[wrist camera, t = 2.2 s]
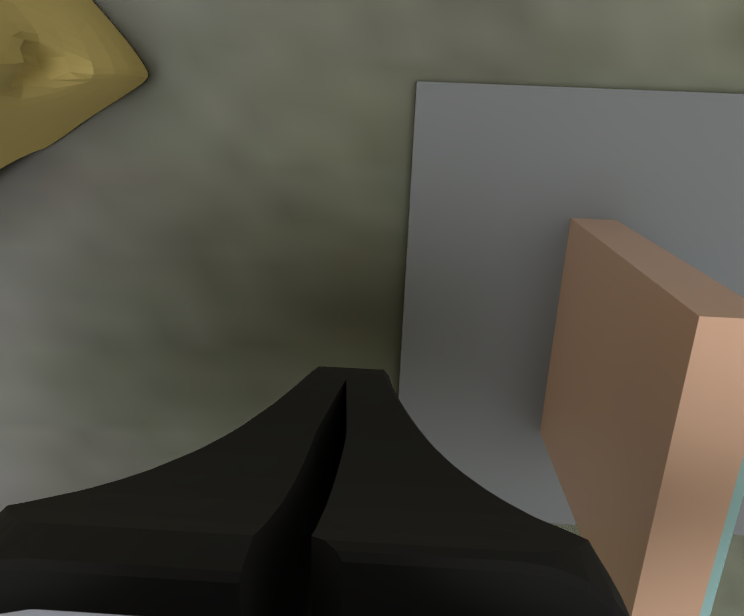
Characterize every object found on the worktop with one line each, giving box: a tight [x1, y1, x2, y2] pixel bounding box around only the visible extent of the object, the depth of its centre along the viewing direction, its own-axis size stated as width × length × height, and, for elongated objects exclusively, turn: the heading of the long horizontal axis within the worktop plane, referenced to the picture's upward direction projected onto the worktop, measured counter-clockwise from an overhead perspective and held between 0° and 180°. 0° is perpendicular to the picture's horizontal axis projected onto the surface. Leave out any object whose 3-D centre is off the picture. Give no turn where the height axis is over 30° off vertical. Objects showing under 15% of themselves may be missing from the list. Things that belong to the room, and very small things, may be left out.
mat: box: [398, 81, 744, 535], centre depth 16 cm, size 12×13×1 cm
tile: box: [540, 218, 744, 616], centre depth 13 cm, size 6×1×7 cm, turn 178°
